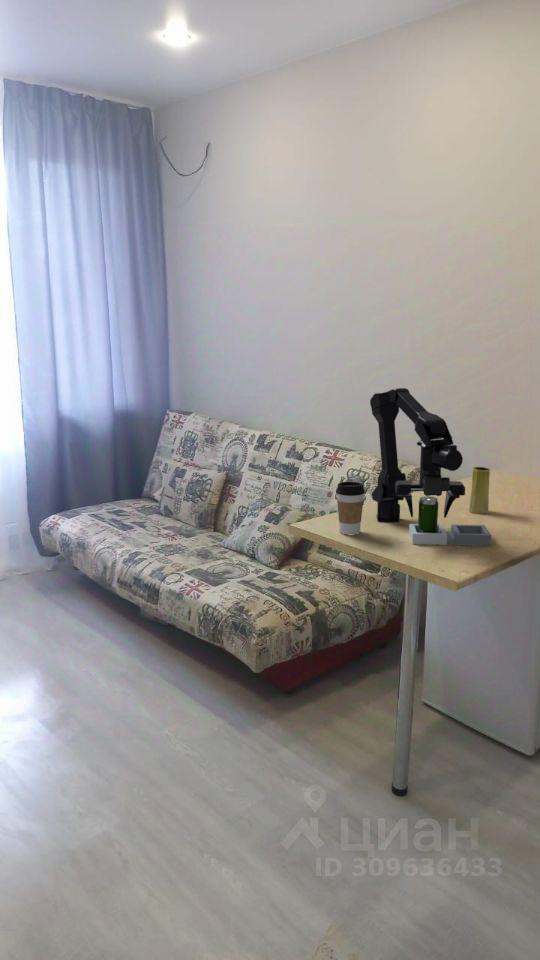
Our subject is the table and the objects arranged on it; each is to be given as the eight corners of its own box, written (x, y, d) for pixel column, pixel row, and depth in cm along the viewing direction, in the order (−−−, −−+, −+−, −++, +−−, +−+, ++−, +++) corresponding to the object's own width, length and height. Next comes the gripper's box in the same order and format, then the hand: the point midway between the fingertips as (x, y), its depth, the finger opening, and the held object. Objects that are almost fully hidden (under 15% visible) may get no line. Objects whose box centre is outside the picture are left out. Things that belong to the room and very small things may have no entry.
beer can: (427, 543, 196) (429, 502, 193) (413, 538, 201) (415, 498, 198) (440, 539, 199) (442, 499, 196) (426, 534, 203) (428, 495, 201)
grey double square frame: (412, 544, 196) (412, 533, 195) (409, 533, 205) (409, 523, 204) (490, 545, 194) (491, 535, 193) (483, 534, 203) (484, 525, 202)
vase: (473, 507, 230) (476, 465, 227) (491, 511, 226) (494, 468, 223) (465, 512, 226) (468, 469, 222) (484, 515, 222) (486, 471, 218)
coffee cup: (341, 538, 202) (342, 487, 198) (331, 529, 210) (331, 481, 206) (368, 535, 204) (369, 485, 200) (357, 527, 212) (358, 478, 208)
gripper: (399, 469, 188) (397, 525, 191) (470, 470, 186) (467, 526, 190) (395, 461, 198) (394, 513, 202) (462, 461, 197) (460, 514, 200)
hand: (428, 517), depth 198 cm, fingers open, 9 cm apart
